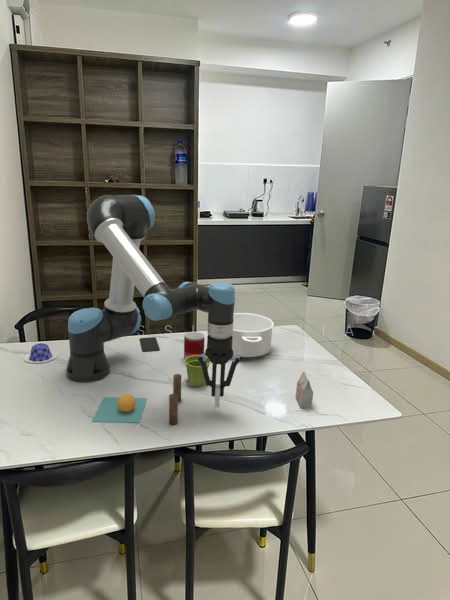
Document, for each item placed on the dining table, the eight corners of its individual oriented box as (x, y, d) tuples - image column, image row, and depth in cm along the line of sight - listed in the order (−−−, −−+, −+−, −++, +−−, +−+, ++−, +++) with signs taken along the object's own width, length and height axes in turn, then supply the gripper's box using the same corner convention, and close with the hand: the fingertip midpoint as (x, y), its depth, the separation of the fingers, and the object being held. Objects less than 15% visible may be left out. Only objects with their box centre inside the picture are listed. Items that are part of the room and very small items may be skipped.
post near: (168, 424, 122) (168, 398, 120) (169, 419, 125) (169, 393, 122) (177, 425, 123) (177, 398, 120) (178, 420, 125) (178, 393, 122)
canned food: (203, 365, 162) (203, 339, 158) (182, 364, 162) (183, 338, 159) (204, 357, 169) (205, 332, 166) (184, 356, 169) (185, 331, 166)
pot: (212, 337, 191) (214, 309, 187) (262, 336, 194) (264, 309, 190) (222, 369, 159) (223, 336, 155) (281, 368, 163) (284, 335, 159)
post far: (172, 402, 135) (172, 377, 132) (173, 398, 137) (173, 373, 134) (180, 402, 135) (181, 377, 132) (181, 398, 137) (181, 374, 135)
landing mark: (91, 421, 122) (91, 421, 122) (104, 397, 136) (103, 396, 136) (139, 423, 123) (139, 422, 123) (146, 398, 136) (146, 398, 136)
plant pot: (213, 379, 151) (214, 357, 149) (204, 391, 143) (204, 368, 140) (190, 374, 154) (190, 353, 151) (179, 386, 145) (179, 363, 143)
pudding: (23, 366, 155) (22, 353, 153) (24, 354, 165) (23, 341, 164) (58, 362, 160) (57, 349, 158) (56, 350, 170) (55, 338, 168)
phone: (155, 337, 187) (160, 349, 173) (155, 338, 187) (160, 351, 173) (139, 338, 185) (142, 351, 171) (139, 339, 185) (142, 353, 171)
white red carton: (306, 398, 141) (309, 371, 138) (311, 408, 135) (314, 381, 132) (295, 397, 141) (298, 371, 138) (300, 408, 135) (303, 381, 132)
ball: (115, 399, 124) (134, 399, 125) (119, 390, 130) (137, 390, 130) (115, 415, 126) (134, 415, 126) (119, 406, 131) (137, 406, 131)
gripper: (197, 338, 119) (195, 410, 126) (242, 340, 119) (238, 412, 126) (198, 329, 126) (196, 398, 133) (241, 331, 127) (237, 399, 133)
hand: (216, 404), depth 130 cm, fingers closed
